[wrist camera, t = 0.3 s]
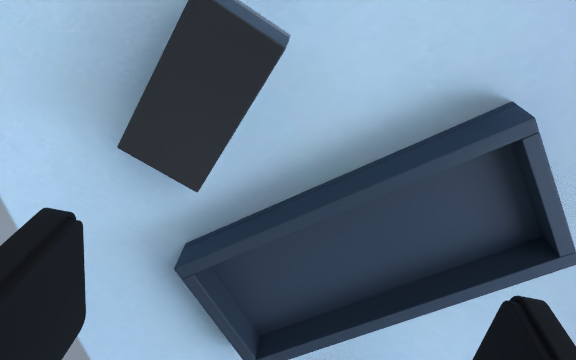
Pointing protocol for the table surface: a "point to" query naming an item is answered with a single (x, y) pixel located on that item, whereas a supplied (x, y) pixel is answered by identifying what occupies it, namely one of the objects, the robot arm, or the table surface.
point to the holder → (386, 241)
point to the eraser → (202, 88)
